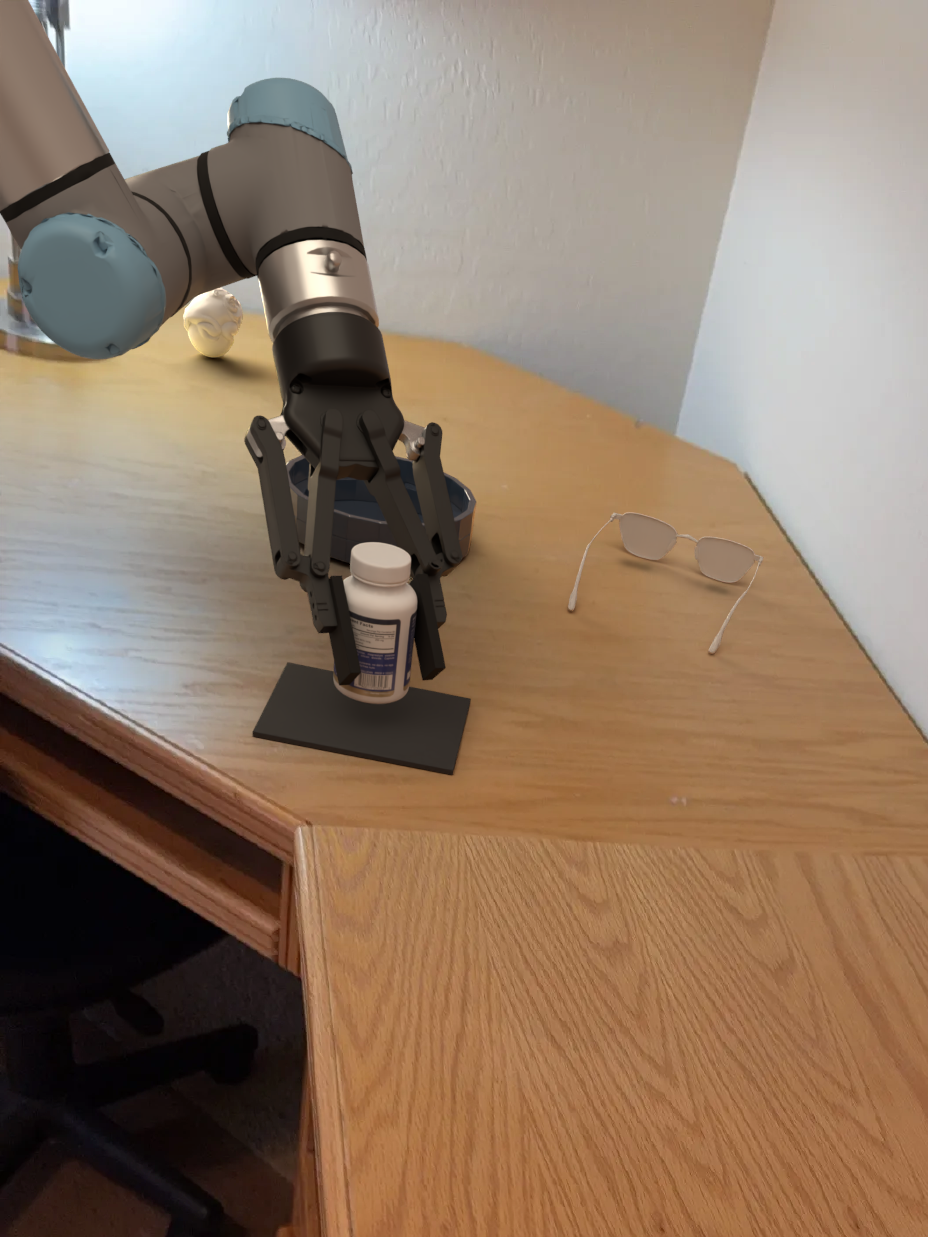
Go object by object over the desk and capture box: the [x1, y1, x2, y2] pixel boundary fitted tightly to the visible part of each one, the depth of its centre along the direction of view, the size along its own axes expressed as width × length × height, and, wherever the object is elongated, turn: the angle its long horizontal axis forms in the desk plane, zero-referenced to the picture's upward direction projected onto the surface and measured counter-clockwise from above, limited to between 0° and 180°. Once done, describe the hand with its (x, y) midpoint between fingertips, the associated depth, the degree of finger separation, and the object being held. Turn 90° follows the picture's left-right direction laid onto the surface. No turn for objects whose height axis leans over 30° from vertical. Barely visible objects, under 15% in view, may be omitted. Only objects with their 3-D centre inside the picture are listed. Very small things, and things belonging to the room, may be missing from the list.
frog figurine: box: [182, 287, 244, 358], centre depth 145 cm, size 6×7×7 cm
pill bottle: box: [332, 542, 417, 704], centre depth 88 cm, size 5×5×10 cm
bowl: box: [286, 454, 477, 564], centre depth 117 cm, size 17×17×4 cm
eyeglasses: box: [567, 511, 764, 655], centre depth 119 cm, size 15×18×4 cm
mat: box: [252, 661, 472, 776], centre depth 93 cm, size 14×11×1 cm
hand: (392, 676), depth 88 cm, fingers closed on pill bottle, 5 cm apart
